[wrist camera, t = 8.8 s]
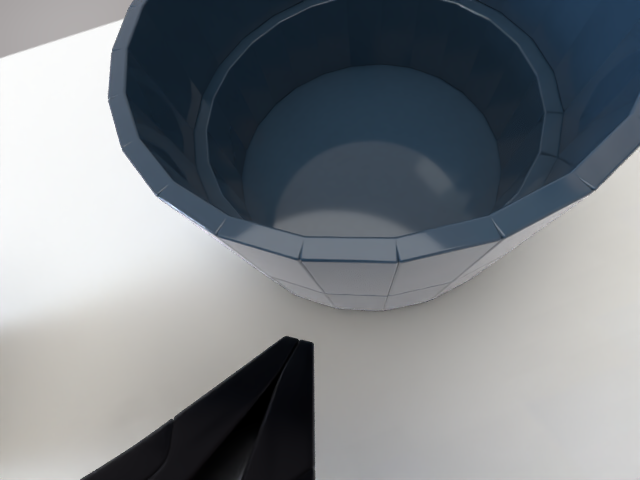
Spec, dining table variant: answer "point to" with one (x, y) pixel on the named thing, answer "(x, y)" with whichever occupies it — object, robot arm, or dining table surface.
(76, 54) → the dining table surface
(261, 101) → the bowl
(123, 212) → the dining table surface
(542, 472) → the dining table surface
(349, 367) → the dining table surface
